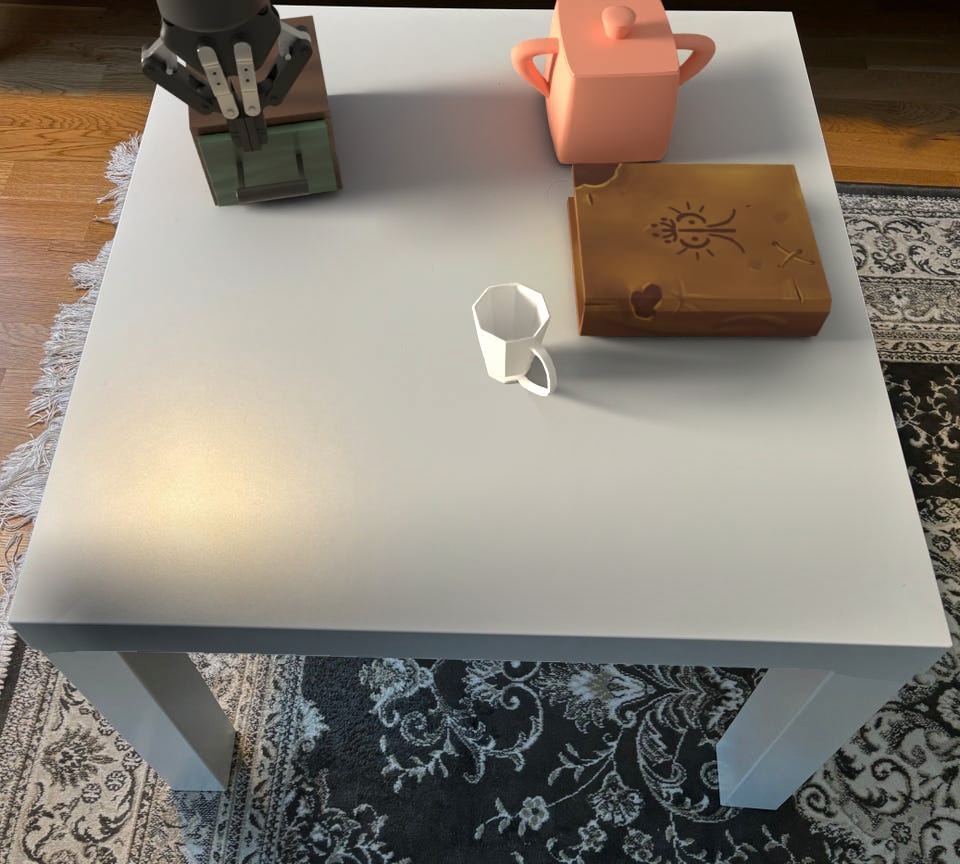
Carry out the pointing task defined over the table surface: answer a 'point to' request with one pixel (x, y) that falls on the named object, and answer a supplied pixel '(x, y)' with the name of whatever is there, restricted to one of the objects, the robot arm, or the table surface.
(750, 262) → the diary
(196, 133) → the cabinet
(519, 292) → the cup
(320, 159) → the drawer
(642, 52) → the pink lidded sugar bowl
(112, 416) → the table surface
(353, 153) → the table surface
